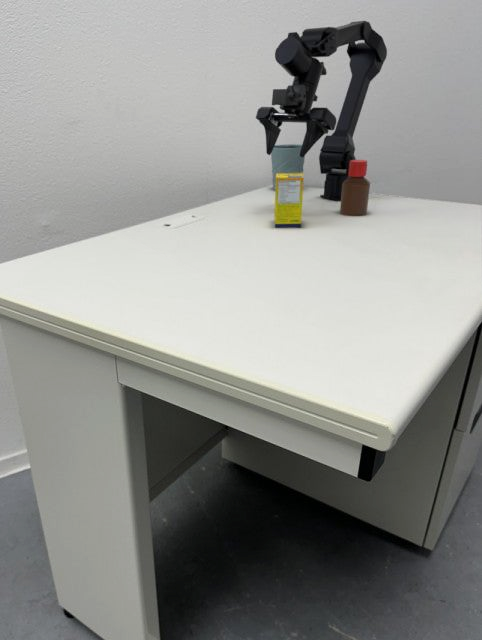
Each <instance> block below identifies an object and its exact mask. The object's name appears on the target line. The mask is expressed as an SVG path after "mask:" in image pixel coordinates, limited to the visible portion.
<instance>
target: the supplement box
mask: <svg viewBox="0 0 482 640" xmlns="http://www.w3.org/2000/svg"><path fill="white" fill-rule="evenodd" d="M303 196H304V175H303V174H302V173H276V188H275V190H274V228H301V227H302V219H303V201H304V199H303Z"/></svg>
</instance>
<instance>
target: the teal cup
mask: <svg viewBox="0 0 482 640" xmlns="http://www.w3.org/2000/svg"><path fill="white" fill-rule="evenodd" d="M301 147H302V144H297V143H294V144H293V143H291V144H289V143H287V144H275V146H274V148H273V151H272V152H271V154H270V156H271V158H270V160H271V173H272V175H271V176H272V179H271V180H272V190H273V191H275V188H276V173H302V174H303V173H304V165H305V158H306V155H305V156H304V157H303V158H301V157H300V151H301Z"/></svg>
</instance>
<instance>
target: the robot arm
mask: <svg viewBox="0 0 482 640" xmlns="http://www.w3.org/2000/svg"><path fill="white" fill-rule="evenodd" d="M358 41H364V42H358ZM356 42H357V43H356ZM346 45H347V48H346V53H347V56H348V58H349V69H350V73H351V78H350V81H349V84H348V87H347V91H346V94H345V97H344V101H343V103H342V106H341V110H340V113H339V116H338V119H337V117H336V116H335V114H333V112H331V110H330V109H329V108H327V107H312V106H313V103H314V102H317V101H318V98H319V97H318V96H317V95H316V94H317V90H318V86H319V83H320V80H321V77H322V76H327V73H328V72H327V69H326V66H325V63H324V61H320V60H319V59H318V58H329V57H331V56H332V55H333V54H335V53H336V52H337V51H338V48H339V47H342V46H346ZM387 56H388V49H387V46H386V44H385V41H384V38H383V37H382V36H381V34H379V33H378V32H377V31H375V30H374V29H373V27H372V25H371V23H370V22H369V21H367V20H359V21H351V22H350V23H347V24H344V25H340V26H336V27H335V26H334V27H333V26H326V27H323V26H322V27H313V28H306V29H304V30H302V34H301V36H300V34H299V33H298V32H297V31H293V32H288V34H287V37H286V38H284V39H283V40H282V41H281V42H280V43H279V44H278V46H277V47H276V49H275V51H274V58H275V61H276V63H278V65H279V66H280V67H281V68H282V69H283V70H284V71H285V72H286V73H287V74H288V75H289V76H291V77H293V80H292V84H291V85H290V84H289V85H288V86H286V88H274V89H272V97H271V106H261V107H259V108H258V109H257V111H256V114H255V119H256V120H258V121H259V124H260V125H262V126H263V129H264V132H265V133H264V134H265V146H266V147H265V148H266V151H265V152H266V154H267V155H268V156H271V152H272V151H273V148H274V146H275V145H277V141H278V138H279V136H280V134H281V132H282V129H281V128H280V127H281V126H282V125H283V123H300V124H301V123H302V124H303V123H304V124H305V125H306V131H305V133H304V137H303V140H302V143H301V145H302V147H301V151H300V157H301V158H303V157H304V156H305V157H306V155H307V153H308V152H309V151H310V150H311V149H312V147H314V145H315V144H316V143H317V142H318V141H319V140H320V139H321V138H322V137H323V136H324V135H326V136H325V137H324V138H323V142H322V146H321V148H320V149H319V151H320V152H319V154H318V155H319V156H318V162H319V171H320V175H325V180H324V184H323V186H324V187H323V194H320V198H324V199H328V200H332V201H341V194H342V183H343V182H344V181H345V180H346V179H348V178H349V177H350V176H349V175H348V173H349V163H350V161H351V160H357V159H356V156H355V152H356V146H355V143H354V134H355V131H356V128H357V124H358V121H359V119H360V115H361V112H362V109H363V105H364V103H365V99H366V96H367V93H368V90H369V86H370V84H371V82H372V81H373V80H374V79H375V78H376V76H377V75H379V73H380V72H381V70H382V68H383V65H384V63H385V61H386V60H387ZM274 106H279V107H278V108H279V109H280V110H281V111H283V112H280V111H278V109H276V108H275V107H274ZM329 131H333V132H332V134H331V135H329V134H328V133H329ZM327 134H328V135H327Z"/></svg>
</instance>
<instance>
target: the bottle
mask: <svg viewBox="0 0 482 640" xmlns="http://www.w3.org/2000/svg"><path fill="white" fill-rule="evenodd" d="M370 189H371V182H370V180H368V178H366V176H364V177H351V176H350V177H349V178H348V179H346V180H345V181H344V182H343V183H342V194H341V200H340V206H339V208H340V209H339V214H341V215H343V216H351V217H358V216H365V215H367V214H368V206H369V196H370Z"/></svg>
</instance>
